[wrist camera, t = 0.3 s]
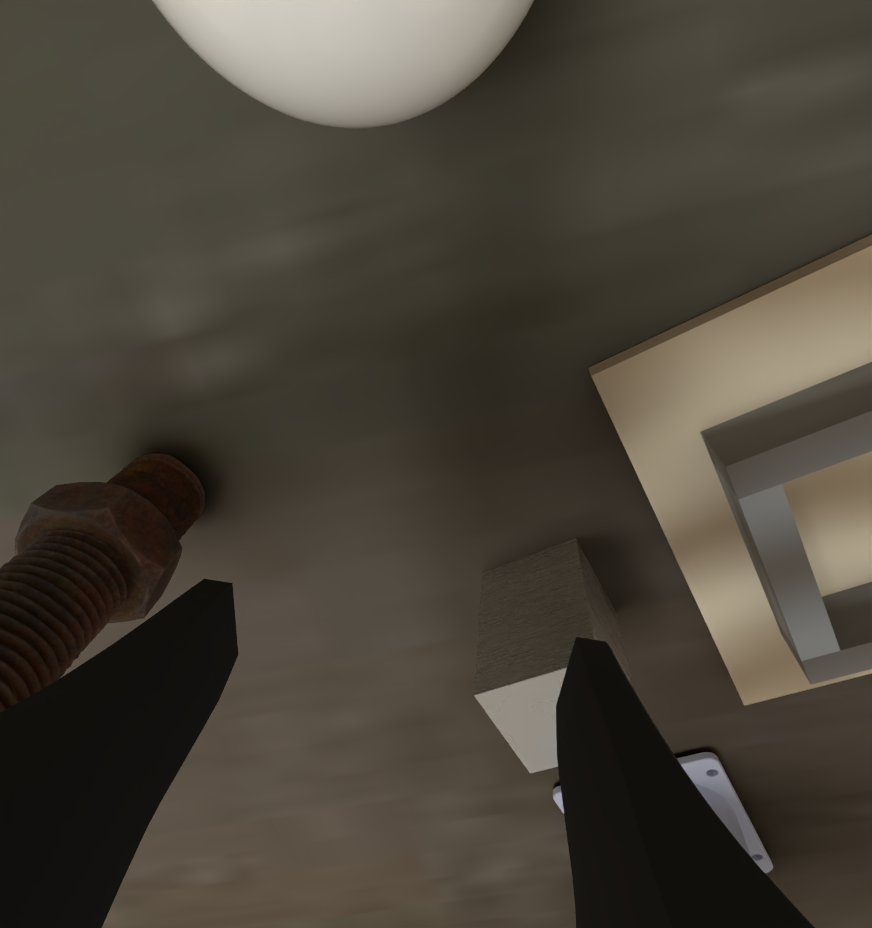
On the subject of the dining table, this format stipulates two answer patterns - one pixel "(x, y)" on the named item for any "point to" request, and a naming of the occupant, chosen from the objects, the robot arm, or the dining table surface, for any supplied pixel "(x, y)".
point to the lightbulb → (348, 52)
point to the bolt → (89, 566)
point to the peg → (537, 643)
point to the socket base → (765, 468)
